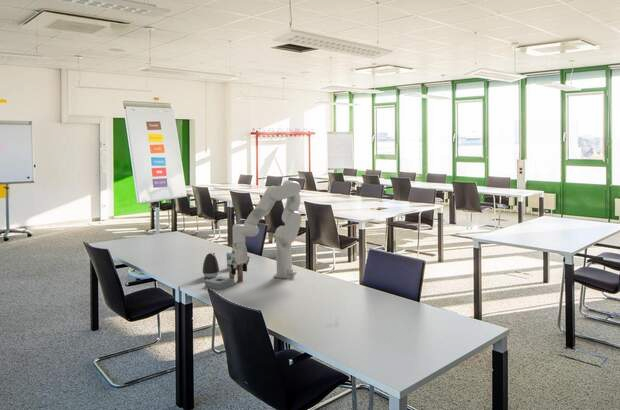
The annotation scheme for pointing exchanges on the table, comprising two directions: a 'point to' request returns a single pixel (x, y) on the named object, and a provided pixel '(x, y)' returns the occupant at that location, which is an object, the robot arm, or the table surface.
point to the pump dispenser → (210, 266)
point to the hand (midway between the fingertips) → (239, 272)
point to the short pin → (231, 275)
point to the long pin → (240, 272)
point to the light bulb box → (229, 259)
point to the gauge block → (219, 283)
